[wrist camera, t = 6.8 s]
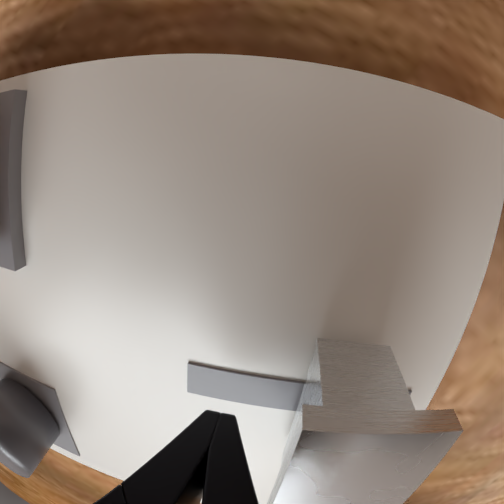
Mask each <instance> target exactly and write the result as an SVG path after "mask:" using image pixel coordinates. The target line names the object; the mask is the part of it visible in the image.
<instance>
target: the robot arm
mask: <svg viewBox="0 0 504 504" xmlns="http://www.w3.org/2000/svg"><path fill="white" fill-rule="evenodd" d="M121 485H122V486H121ZM121 485H118V486H117V487H115V488H114V489H113V490H112V491H110V492H109V493H108V494H106V495H105V496H103V497H102V498H101V499H99V500H98V501H96V502H95V503H93V504H200V502H201V499H202V504H259V503H258V500H257V496H256V492H255V489H254V485H253V481H252V478H251V474H250V470H249V466H248V463H247V459H246V455H245V451H244V447H243V443H242V439H241V435H240V431H239V427H238V423H237V419H236V416H235V415H232V414H227V413H220V412H217V411H212V410H205V411H204V412H203V413H202V414H201V415H199V416H198V417H197V418H196V419H195V420H194V421H193V422H192V423H191V424H190V425H189V426H187V427H186V428H185V429H184V430H183V431H182V432H181V433H180V434H179V435H177V436H176V437H175V438H174V439H173V440H172V441H171V442H170V443H168V444H167V445H166V446H165V447H164V448H163V449H161V450H160V451H159V452H158V453H157V454H156V455H155V456H153V457H152V458H151V459H150V460H149V461H147V462H146V463H145V464H144V465H143V466H141V467H140V468H139V469H138V470H137V471H135V472H134V473H133V474H132V475H131V476H129V477H128V478H127V479H126V480H124V481H123V482H122V483H121Z"/></svg>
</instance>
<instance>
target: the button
mask: <svg viewBox="0 0 504 504" xmlns="http://www.w3.org/2000/svg"><path fill="white" fill-rule="evenodd" d="M58 436H59V429H58V427H57V424H56V422H55V421H54V419H53V417H52V416H51V414H50V413H49V412H48V410H47V409H46V408H45V407H44V405H43V404H42V403H41V402H40V401H39V400H38V399H37V398H36V397H35V396H34V395H33V394H32V393H31V392H30V391H28V390H27V389H26V388H25V387H23V386H22V385H21V384H19V383H17V382H16V381H14V380H11V379H8V378H4V379H2V380H1V381H0V462H1V463H2V464H4V465H5V466H6V467H8V468H9V469H10V470H12V471H13V472H15V473H17V474H18V475H20V476H23V477H26V478H29V477H30V475H31V474H32V473H33V471H34V470H35V468H36V467H37V466H38V464H39V463H40V461H41V460H42V459H43V457H44V456H45V454H46V453H47V452H48V450H49V449H50V447H51V446H52V445H53V443H54V442H55V441H56V439H57V438H58Z"/></svg>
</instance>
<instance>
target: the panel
mask: <svg viewBox="0 0 504 504" xmlns="http://www.w3.org/2000/svg"><path fill="white" fill-rule="evenodd" d="M503 202H504V119H502V118H500V117H498V116H496V115H493V114H491V113H489V112H486V111H484V110H482V109H479V108H477V107H474V106H472V105H469V104H467V103H464V102H462V101H459V100H456V99H454V98H451V97H448V96H445V95H442V94H439V93H436V92H433V91H430V90H427V89H424V88H421V87H418V86H414V85H411V84H408V83H404V82H401V81H397V80H393V79H390V78H386V77H382V76H378V75H374V74H369V73H365V72H360V71H356V70H351V69H346V68H341V67H336V66H330V65H324V64H318V63H312V62H305V61H298V60H290V59H282V58H273V57H262V56H249V55H232V54H159V55H142V56H130V57H119V58H110V59H102V60H94V61H88V62H81V63H75V64H69V65H64V66H59V67H54V68H49V69H44V70H40V71H35V72H31V73H27V74H23V75H19V76H15V77H12V78H8V79H5V80H1V81H0V381H1V380H2V379H4V378H8V379H11V380H14V381H16V382H17V383H19V384H21V385H22V386H23V387H25V388H26V389H27V390H28V391H30V392H31V393H32V394H33V395H34V396H35V397H36V398H37V399H38V400H39V401H40V402H41V403H42V404H43V405H44V407H45V408H46V409H47V410H48V412H49V413H50V414H51V416H52V417H53V419H54V421H55V422H56V424H57V427H58V429H59V436H58V438H57V439H56V441H55V442H54V443H53V445H52V446H51V447H50V448H51V449H53V450H55V451H57V452H59V453H61V454H63V455H65V456H67V457H69V458H71V459H73V460H75V461H77V462H79V463H82V464H84V465H86V466H88V467H91V468H93V469H95V470H98V471H100V472H103V473H105V474H107V475H110V476H113V477H115V478H118V479H120V480H123V481H124V480H126V479H127V478H128V477H129V476H131V475H132V474H133V473H134V472H135V471H137V470H138V469H139V468H140V467H141V466H143V465H144V464H145V463H146V462H147V461H149V460H150V459H151V458H152V457H153V456H155V455H156V454H157V453H158V452H159V451H160V450H161V449H163V448H164V447H165V446H166V445H167V444H168V443H170V442H171V441H172V440H173V439H174V438H175V437H176V436H177V435H179V434H180V433H181V432H182V431H183V430H184V429H185V428H186V427H187V426H189V425H190V424H191V423H192V422H193V421H194V420H195V419H196V418H197V417H198V416H199V415H201V414H202V413H203V412H204V411H205V410H212V411H217V412H220V413H227V414H232V415H235V416H236V419H237V423H238V427H239V431H240V435H241V439H242V443H243V447H244V451H245V455H246V459H247V463H248V466H249V470H250V474H251V478H252V481H253V485H254V489H255V492H256V496H257V500H258V503H259V504H267V502H268V499H269V497H270V494H271V492H272V489H273V487H274V484H275V482H276V479H277V476H278V474H279V471H280V468H281V463H282V453H283V450H284V447H285V444H286V441H287V438H288V435H289V432H290V429H291V426H292V423H293V420H294V417H295V413H296V410H297V407H298V404H299V400H300V397H301V394H302V390H303V387H304V384H305V380H306V377H307V373H308V370H309V366H310V362H311V359H312V355H313V351H314V348H315V344H316V340H317V338H322V339H330V340H339V341H347V342H356V343H366V344H376V345H386V346H390V347H391V350H392V352H393V354H394V357H395V359H396V362H397V364H398V367H399V369H400V371H401V374H402V376H403V379H404V382H405V384H406V387H407V389H408V392H409V394H410V397H411V400H412V402H413V405H414V408H415V410H426V408H427V406H428V404H429V403H430V401H431V399H432V397H433V395H434V394H435V392H436V390H437V388H438V386H439V384H440V382H441V380H442V378H443V376H444V374H445V372H446V370H447V368H448V366H449V364H450V362H451V360H452V358H453V356H454V353H455V351H456V349H457V347H458V345H459V342H460V340H461V338H462V335H463V333H464V331H465V328H466V326H467V323H468V321H469V318H470V316H471V313H472V310H473V308H474V305H475V302H476V300H477V297H478V294H479V291H480V288H481V285H482V282H483V279H484V276H485V273H486V270H487V266H488V263H489V260H490V256H491V253H492V249H493V245H494V241H495V238H496V234H497V229H498V225H499V221H500V216H501V212H502V207H503ZM200 503H202V499H201V502H200Z"/></svg>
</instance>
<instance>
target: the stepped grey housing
mask: <svg viewBox="0 0 504 504" xmlns="http://www.w3.org/2000/svg"><path fill="white" fill-rule="evenodd" d="M462 432H463V429H462V426H461V424H460V422H459V420H458V418H457V416H456V414H455V411H454V409H445V410H415V408H414V405H413V402H412V400H411V397H410V394H409V392H408V389H407V387H406V384H405V382H404V379H403V376H402V374H401V371H400V369H399V367H398V364H397V362H396V359H395V357H394V354H393V352H392V350H391V347H390V346H386V345H376V344H366V343H356V342H347V341H339V340H330V339H322V338H317V340H316V344H315V348H314V351H313V355H312V359H311V362H310V366H309V370H308V373H307V377H306V380H305V384H304V387H303V390H302V394H301V397H300V400H299V404H298V407H297V410H296V413H295V417H294V420H293V423H292V426H291V429H290V432H289V435H288V438H287V441H286V444H285V447H284V450H283V453H282V463H281V468H280V471H279V474H278V476H277V479H276V482H275V484H274V487H273V489H272V492H271V494H270V497H269V499H268V502H267V504H403V503H404V502H405V501H406V500H407V499H408V498H409V497H410V496H411V495H412V494H413V492H414V491H415V490H416V489H417V488H418V487H419V486H420V485H421V484H422V482H423V481H424V480H425V479H426V478H427V477H428V476H429V474H430V473H431V472H432V471H433V470H434V468H435V467H436V466H437V465H438V464H439V462H440V461H441V460H442V458H443V457H444V456H445V455H446V453H447V452H448V451H449V449H450V448H451V447H452V445H453V444H454V443H455V441H456V440H457V439H458V437H459V436H460V434H461V433H462Z"/></svg>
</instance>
